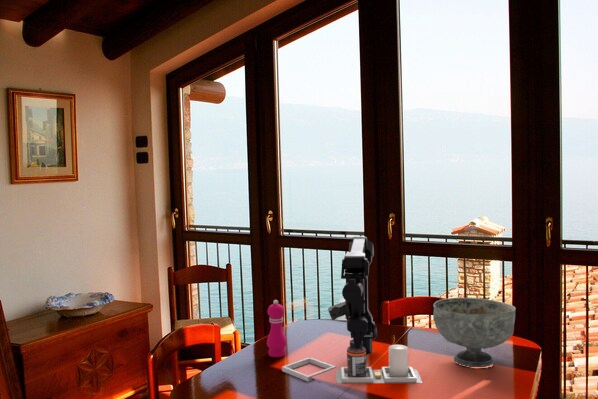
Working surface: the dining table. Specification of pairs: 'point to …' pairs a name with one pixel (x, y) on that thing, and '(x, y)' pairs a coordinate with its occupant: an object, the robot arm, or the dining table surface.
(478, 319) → the decorative bowl
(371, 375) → the gray rectangular frame
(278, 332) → the pepper mill
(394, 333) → the dining table surface
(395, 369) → the white peg
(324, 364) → the white square frame
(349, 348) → the supplement bottle
